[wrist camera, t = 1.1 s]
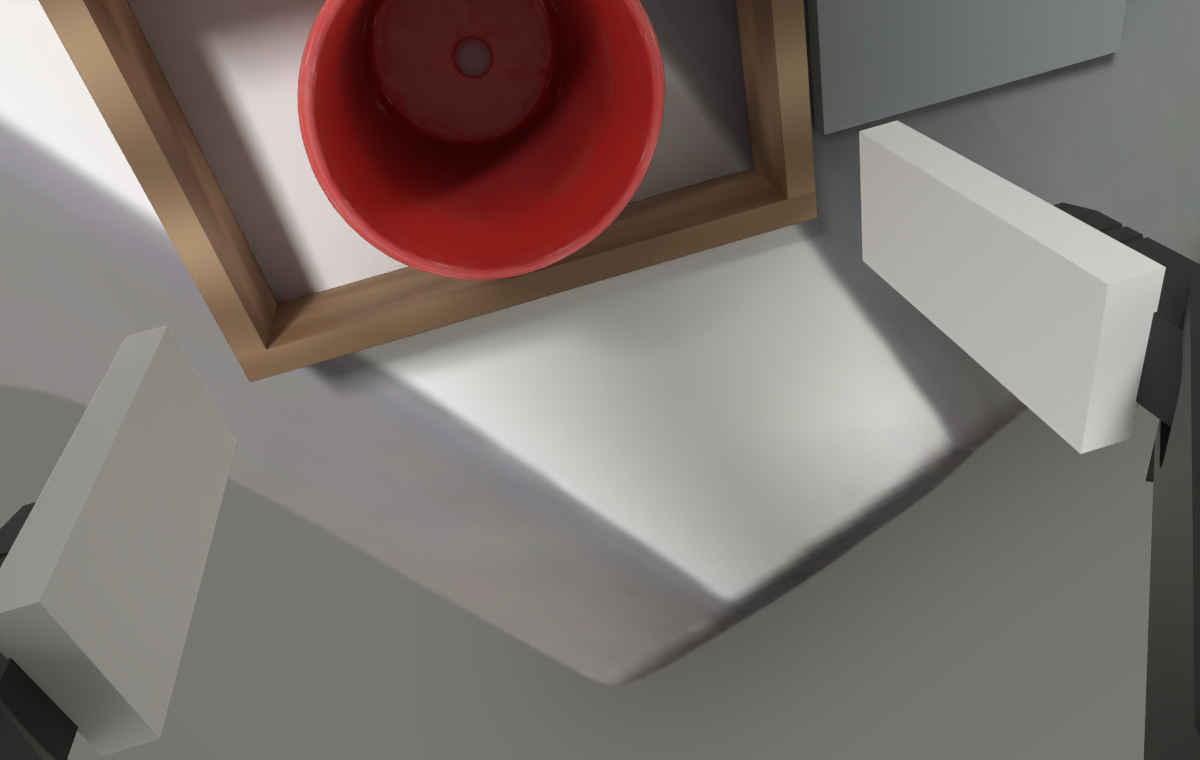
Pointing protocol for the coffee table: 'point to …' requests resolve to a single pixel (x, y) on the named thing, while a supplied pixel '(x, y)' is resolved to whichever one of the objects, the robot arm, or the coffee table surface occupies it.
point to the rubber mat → (942, 50)
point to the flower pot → (480, 125)
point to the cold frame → (409, 296)
